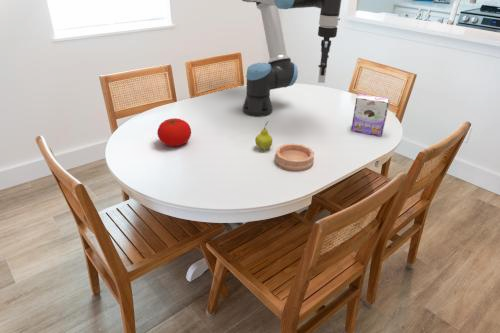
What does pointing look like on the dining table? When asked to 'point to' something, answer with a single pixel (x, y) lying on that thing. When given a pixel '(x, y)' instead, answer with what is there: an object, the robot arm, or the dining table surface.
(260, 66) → the robot arm
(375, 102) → the candy box
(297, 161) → the dish
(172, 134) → the tomato
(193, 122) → the dining table surface
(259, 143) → the fruit
